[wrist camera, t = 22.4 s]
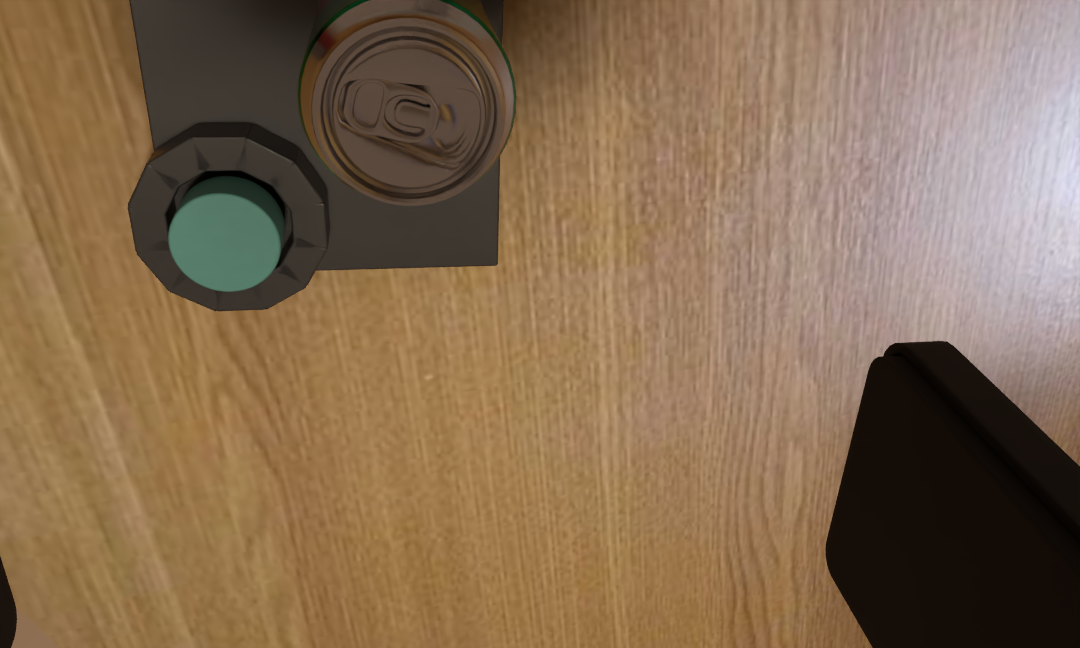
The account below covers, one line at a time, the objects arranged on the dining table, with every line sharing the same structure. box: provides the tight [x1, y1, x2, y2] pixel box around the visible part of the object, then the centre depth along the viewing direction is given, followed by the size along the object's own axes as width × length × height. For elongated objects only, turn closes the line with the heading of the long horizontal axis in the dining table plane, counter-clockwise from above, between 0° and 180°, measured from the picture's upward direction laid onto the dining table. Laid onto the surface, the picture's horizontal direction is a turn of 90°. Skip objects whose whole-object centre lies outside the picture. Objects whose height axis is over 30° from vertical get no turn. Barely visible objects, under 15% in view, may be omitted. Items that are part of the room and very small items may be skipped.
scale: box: [128, 0, 503, 311], centre depth 32 cm, size 15×13×3 cm
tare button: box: [168, 176, 285, 292], centre depth 32 cm, size 4×4×2 cm
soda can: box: [297, 0, 516, 206], centre depth 26 cm, size 5×5×12 cm
